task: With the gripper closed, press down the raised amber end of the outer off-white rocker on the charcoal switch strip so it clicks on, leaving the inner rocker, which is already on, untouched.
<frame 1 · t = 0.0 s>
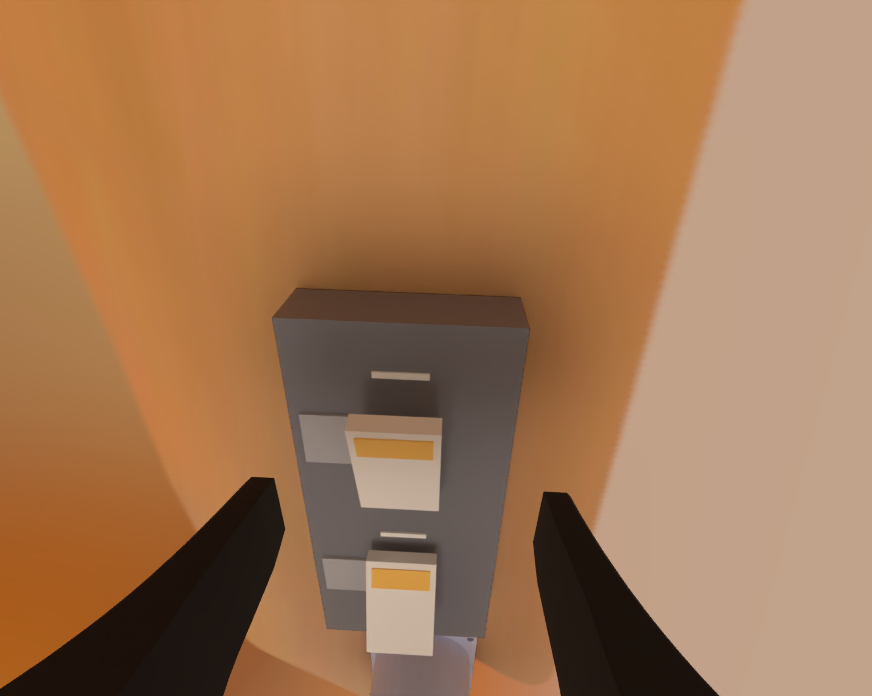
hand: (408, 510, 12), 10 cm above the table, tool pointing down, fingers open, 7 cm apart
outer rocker: (397, 467, 19), point 5 cm above the table, hinge at -14.0°
inner rocker: (401, 604, 24), point 5 cm above the table, hinge at 14.0°
switch strip: (408, 472, 25), on the table
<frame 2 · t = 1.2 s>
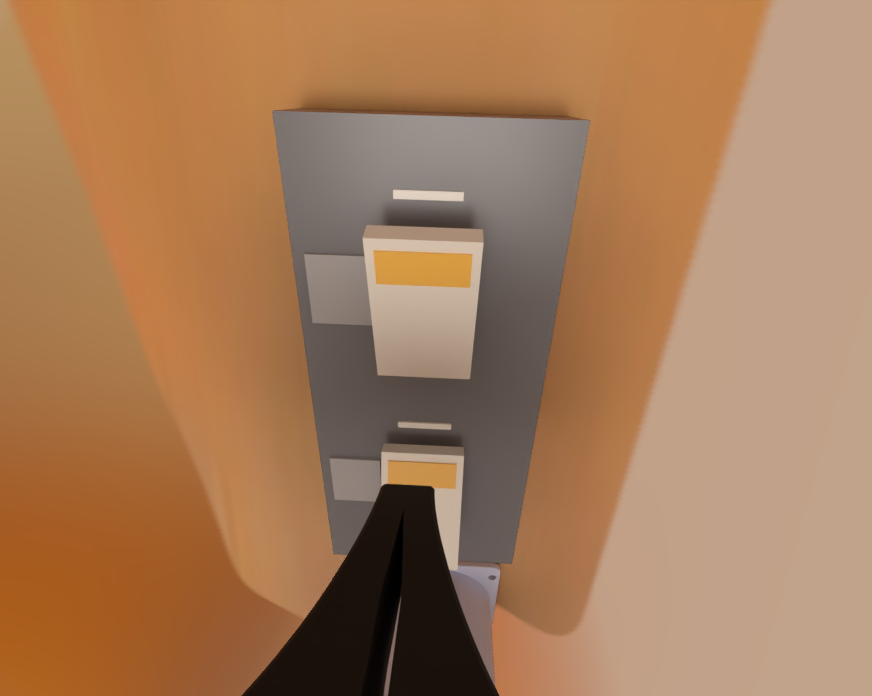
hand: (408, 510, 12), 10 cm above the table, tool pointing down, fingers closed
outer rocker: (424, 311, 16), point 5 cm above the table, hinge at -14.0°
inner rocker: (421, 508, 20), point 5 cm above the table, hinge at 14.0°
switch strip: (428, 363, 22), on the table
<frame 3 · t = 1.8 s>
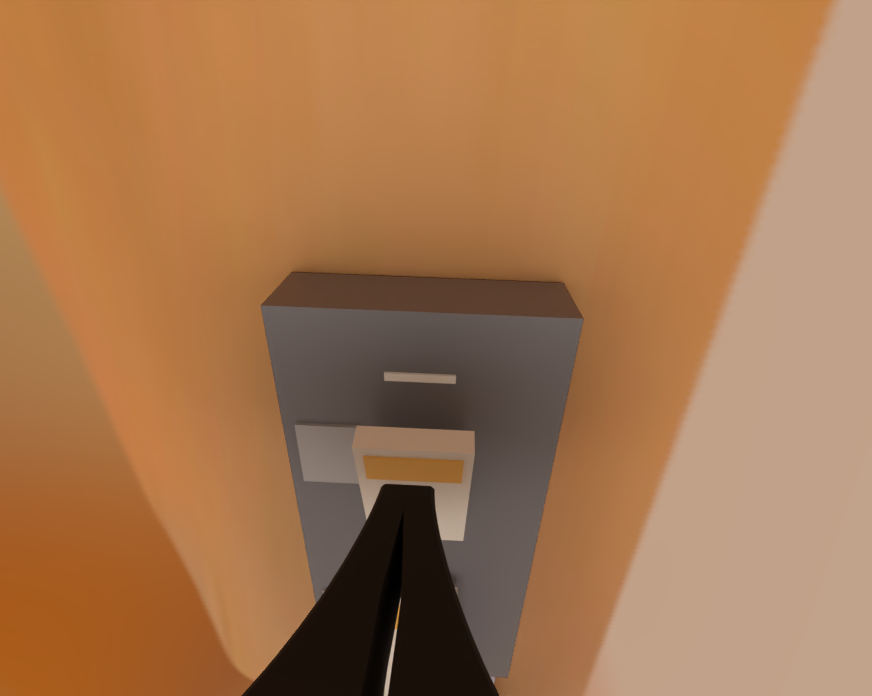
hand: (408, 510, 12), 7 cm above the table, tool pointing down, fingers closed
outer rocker: (415, 490, 15), point 5 cm above the table, hinge at -14.0°
inner rocker: (415, 646, 20), point 5 cm above the table, hinge at 14.0°
switch strip: (423, 489, 22), on the table
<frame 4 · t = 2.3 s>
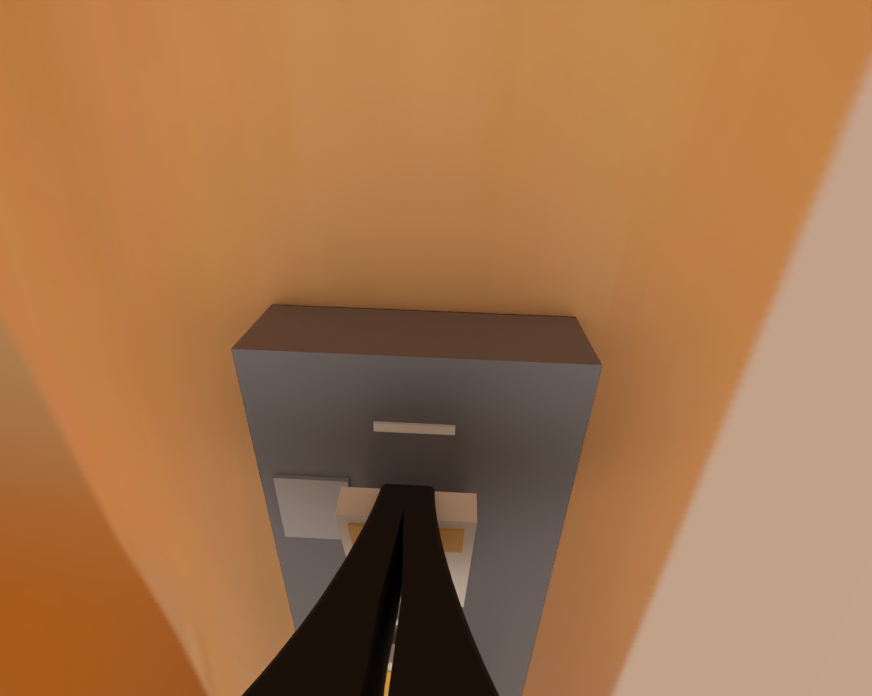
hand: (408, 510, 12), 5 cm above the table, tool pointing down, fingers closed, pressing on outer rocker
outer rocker: (409, 555, 13), point 5 cm above the table, hinge at -12.9°, touching gripper
switch strip: (419, 535, 20), on the table
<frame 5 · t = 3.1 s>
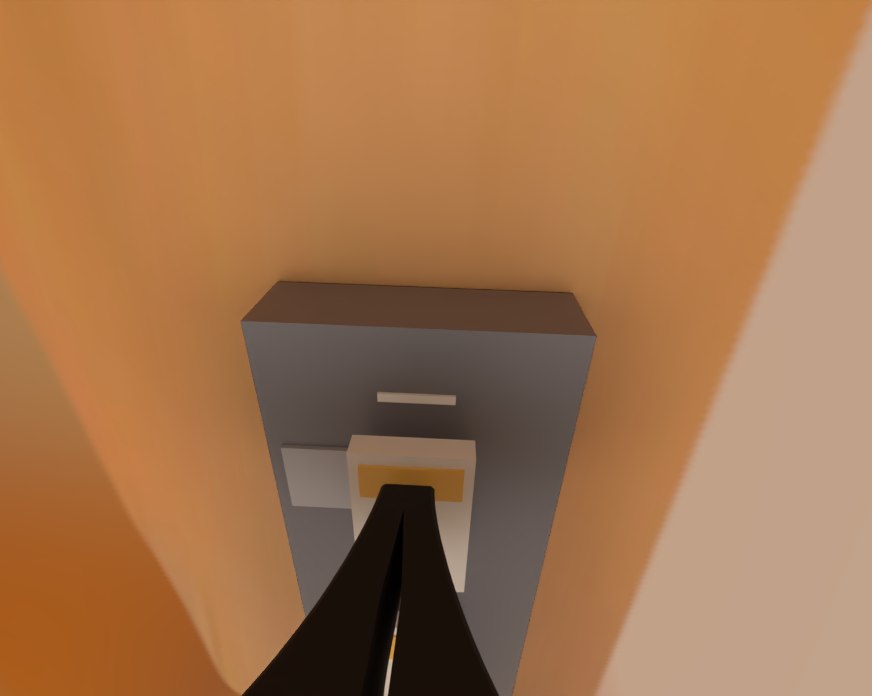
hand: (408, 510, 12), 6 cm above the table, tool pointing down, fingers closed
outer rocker: (412, 520, 14), point 5 cm above the table, hinge at 1.4°
inner rocker: (412, 675, 19), point 5 cm above the table, hinge at 14.0°
switch strip: (421, 508, 21), on the table
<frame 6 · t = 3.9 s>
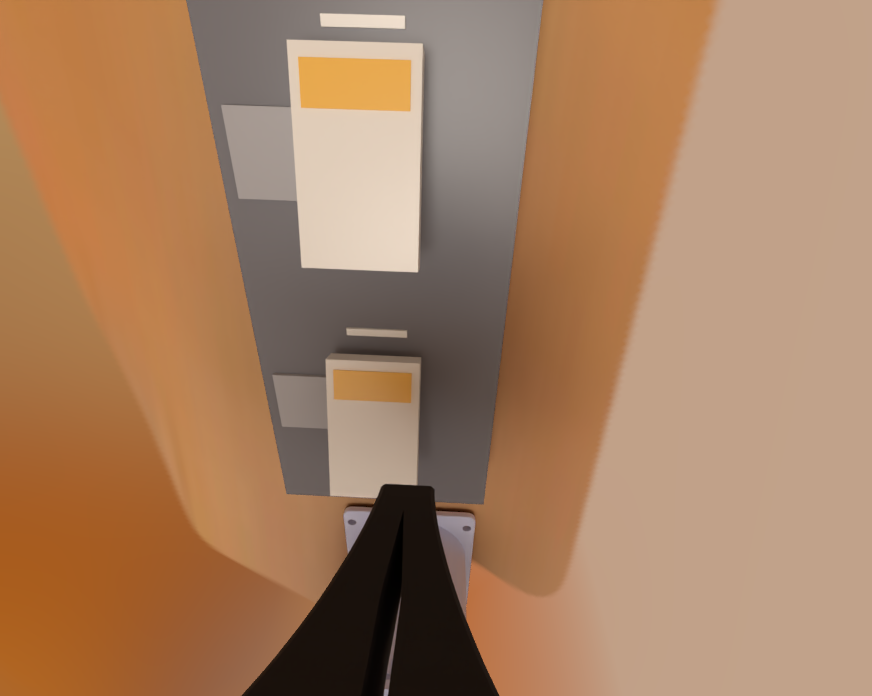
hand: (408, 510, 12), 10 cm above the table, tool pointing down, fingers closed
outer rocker: (359, 165, 13), point 5 cm above the table, hinge at 10.8°
inner rocker: (374, 428, 18), point 5 cm above the table, hinge at 14.0°
switch strip: (386, 271, 20), on the table
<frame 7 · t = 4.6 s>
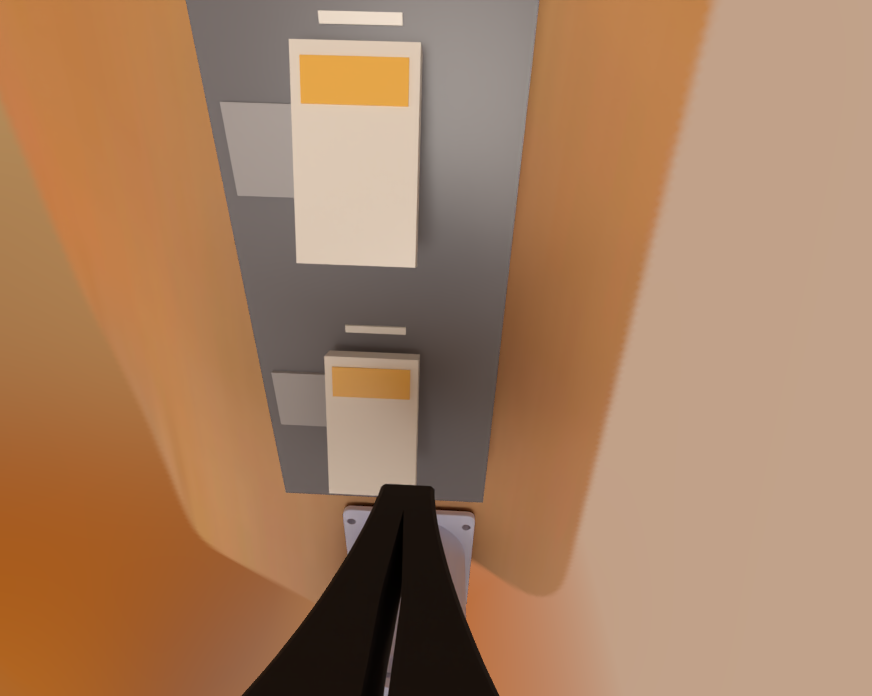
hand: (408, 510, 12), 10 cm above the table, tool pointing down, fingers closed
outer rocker: (357, 161, 13), point 5 cm above the table, hinge at 16.8°
inner rocker: (373, 426, 18), point 5 cm above the table, hinge at 14.0°
switch strip: (385, 269, 20), on the table
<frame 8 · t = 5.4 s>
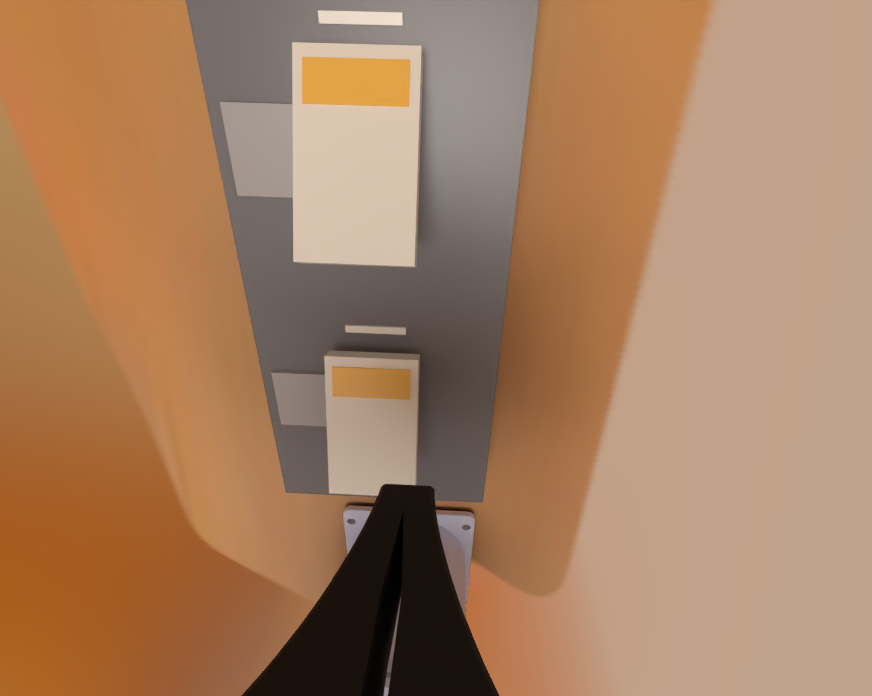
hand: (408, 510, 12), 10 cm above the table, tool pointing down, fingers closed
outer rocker: (357, 161, 13), point 5 cm above the table, hinge at 22.0°
inner rocker: (373, 426, 18), point 5 cm above the table, hinge at 14.0°
switch strip: (385, 269, 20), on the table
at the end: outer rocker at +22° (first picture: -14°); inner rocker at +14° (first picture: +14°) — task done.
